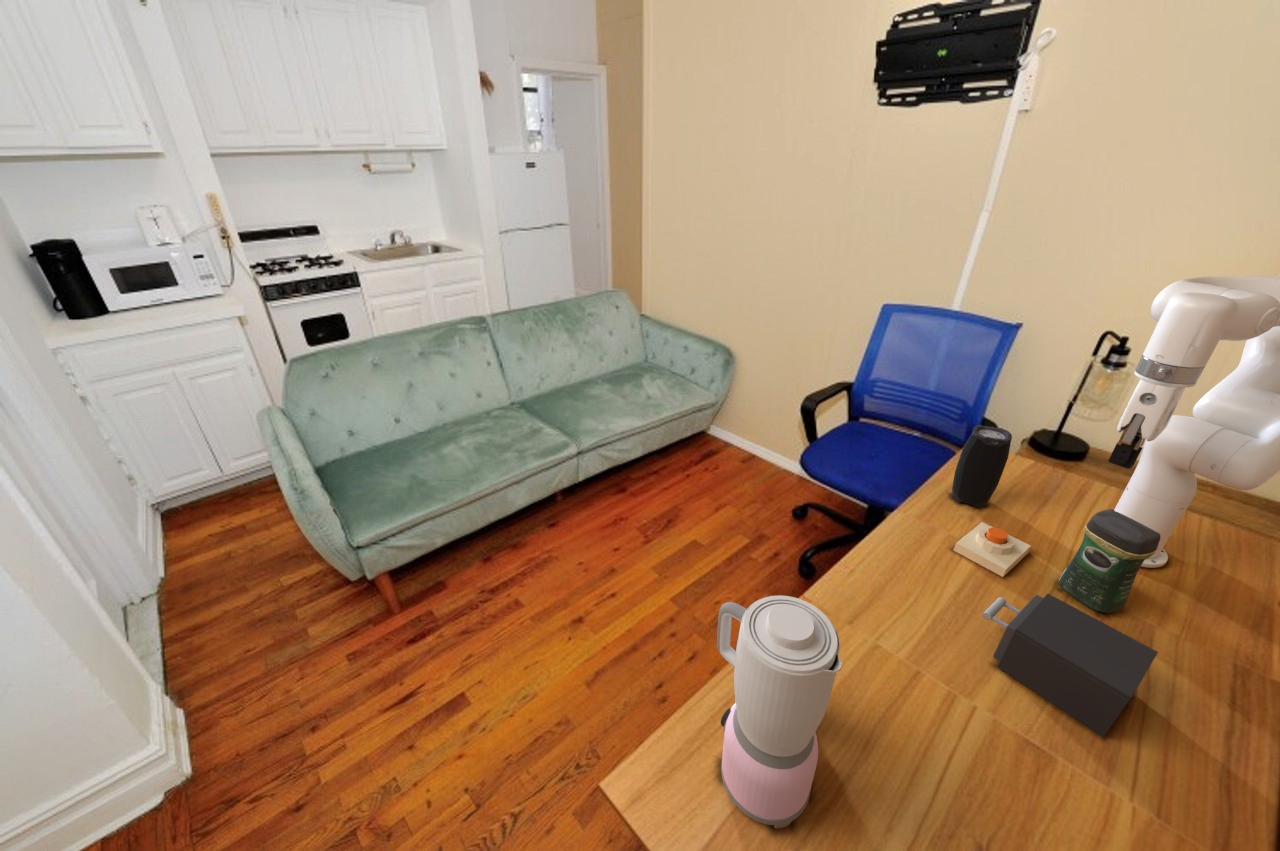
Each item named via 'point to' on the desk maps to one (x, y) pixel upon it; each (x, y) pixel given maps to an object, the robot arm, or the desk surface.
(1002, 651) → the drawer
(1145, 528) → the coffee jar
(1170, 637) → the desk surface
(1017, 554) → the block
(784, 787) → the blender
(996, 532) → the button
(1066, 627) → the box
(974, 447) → the portable speaker
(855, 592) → the desk surface
